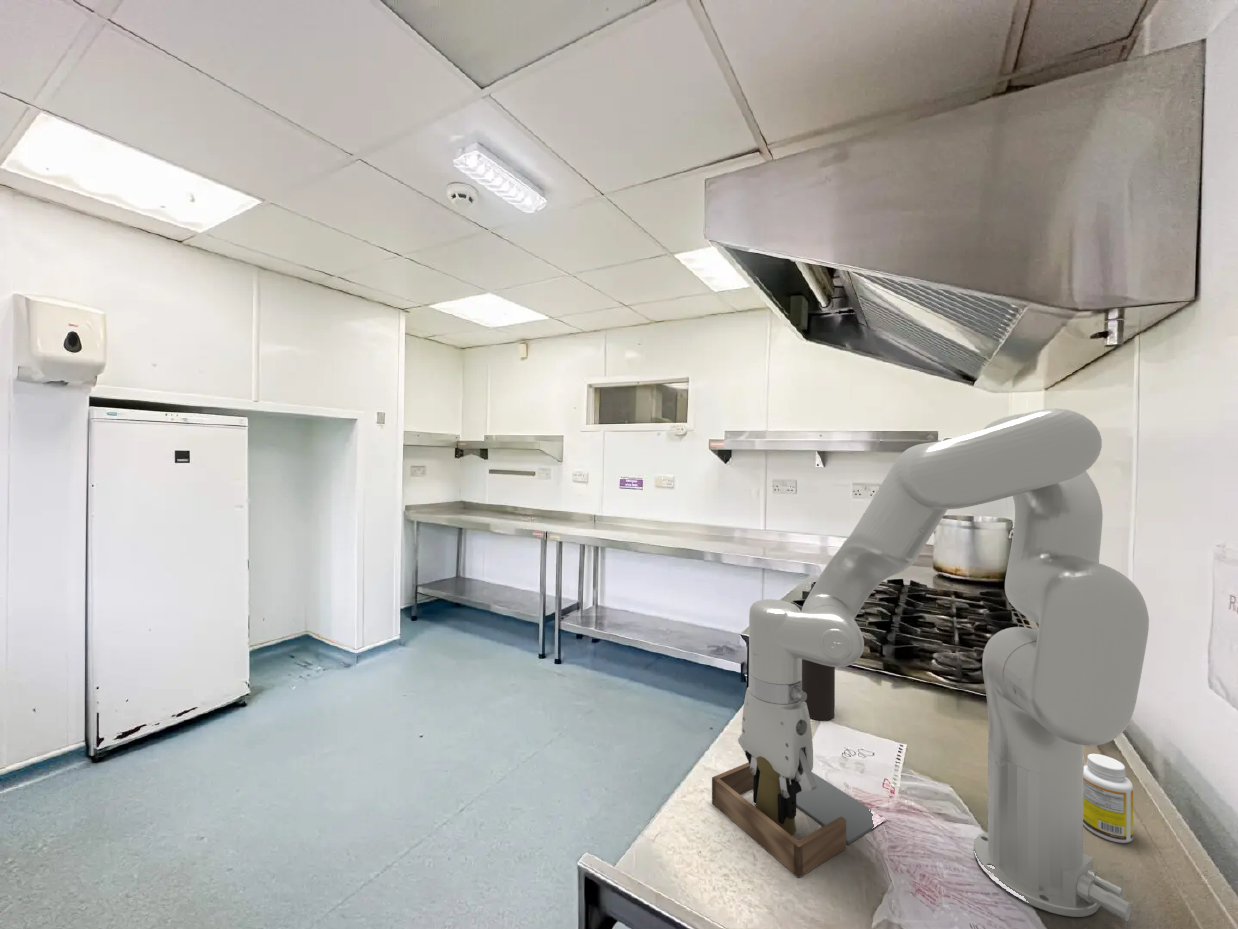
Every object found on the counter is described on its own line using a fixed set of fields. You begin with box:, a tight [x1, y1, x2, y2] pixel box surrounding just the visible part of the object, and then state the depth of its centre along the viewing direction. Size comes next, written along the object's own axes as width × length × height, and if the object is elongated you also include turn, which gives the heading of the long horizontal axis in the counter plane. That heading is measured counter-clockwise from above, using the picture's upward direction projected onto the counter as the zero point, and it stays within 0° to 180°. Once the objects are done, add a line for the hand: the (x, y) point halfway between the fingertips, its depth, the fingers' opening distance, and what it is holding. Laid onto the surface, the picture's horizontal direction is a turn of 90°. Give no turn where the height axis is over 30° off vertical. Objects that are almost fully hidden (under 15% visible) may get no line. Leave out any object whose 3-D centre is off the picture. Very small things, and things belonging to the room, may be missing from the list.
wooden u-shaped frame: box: [711, 762, 847, 879], centre depth 74 cm, size 17×10×4 cm, turn 31°
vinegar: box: [802, 659, 836, 722], centre depth 107 cm, size 7×7×20 cm
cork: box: [754, 756, 797, 837], centre depth 74 cm, size 6×6×11 cm
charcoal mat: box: [790, 771, 874, 845], centre depth 79 cm, size 16×9×1 cm, turn 31°
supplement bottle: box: [1083, 753, 1134, 844], centre depth 73 cm, size 6×6×10 cm
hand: (774, 808), depth 74 cm, fingers closed on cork, 4 cm apart
